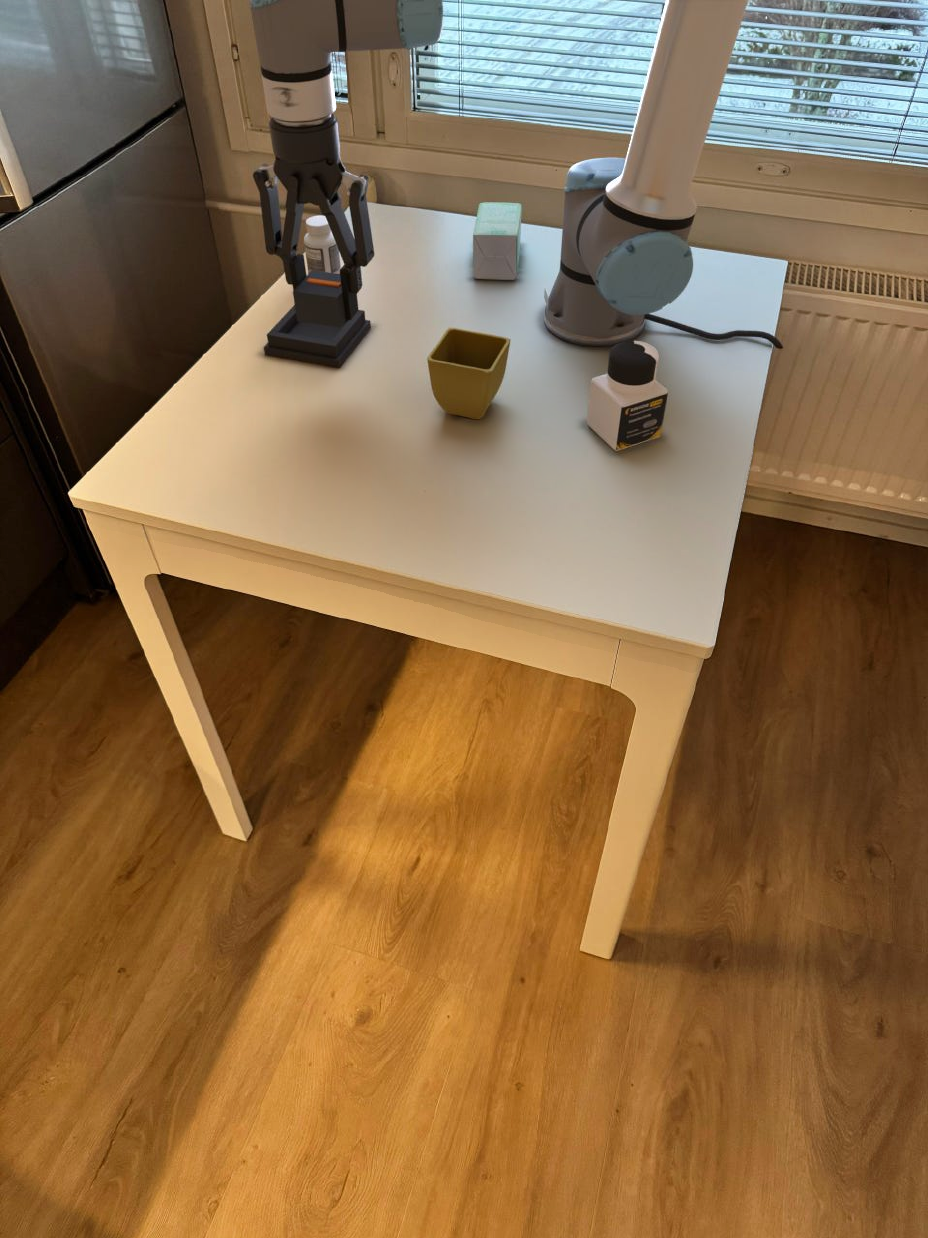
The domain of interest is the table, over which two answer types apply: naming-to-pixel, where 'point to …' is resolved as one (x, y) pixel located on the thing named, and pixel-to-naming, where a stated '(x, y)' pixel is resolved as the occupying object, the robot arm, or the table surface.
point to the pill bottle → (321, 246)
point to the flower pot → (467, 371)
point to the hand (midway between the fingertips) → (327, 310)
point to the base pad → (316, 339)
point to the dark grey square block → (320, 299)
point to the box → (497, 241)
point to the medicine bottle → (628, 397)
